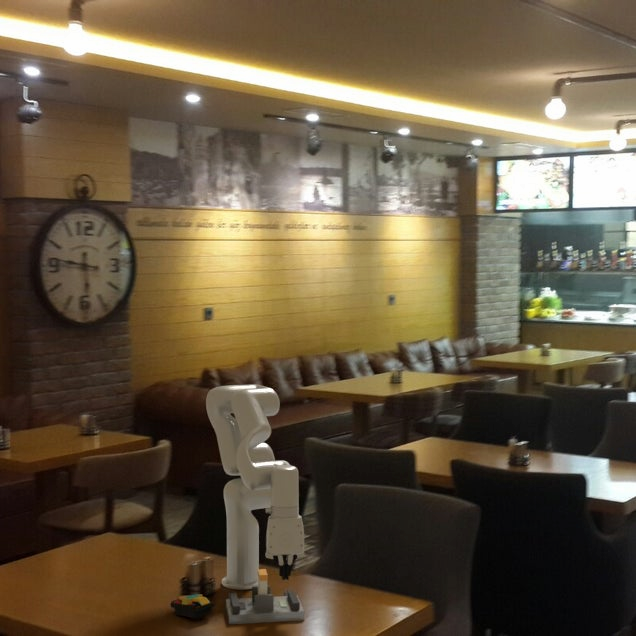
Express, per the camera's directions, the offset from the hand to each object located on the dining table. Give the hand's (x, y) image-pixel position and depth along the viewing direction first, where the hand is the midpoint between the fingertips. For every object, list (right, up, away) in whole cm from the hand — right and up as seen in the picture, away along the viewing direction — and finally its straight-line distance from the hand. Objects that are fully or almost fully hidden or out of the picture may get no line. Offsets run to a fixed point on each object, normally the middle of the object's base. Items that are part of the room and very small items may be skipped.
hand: (285, 578), depth 260 cm
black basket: (-26, -10, -2) cm, 27 cm away
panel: (-6, -10, 0) cm, 11 cm away
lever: (-6, -6, -1) cm, 9 cm away
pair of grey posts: (-6, -9, +4) cm, 12 cm away
